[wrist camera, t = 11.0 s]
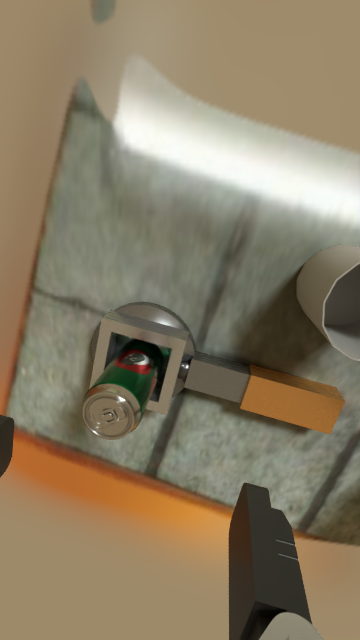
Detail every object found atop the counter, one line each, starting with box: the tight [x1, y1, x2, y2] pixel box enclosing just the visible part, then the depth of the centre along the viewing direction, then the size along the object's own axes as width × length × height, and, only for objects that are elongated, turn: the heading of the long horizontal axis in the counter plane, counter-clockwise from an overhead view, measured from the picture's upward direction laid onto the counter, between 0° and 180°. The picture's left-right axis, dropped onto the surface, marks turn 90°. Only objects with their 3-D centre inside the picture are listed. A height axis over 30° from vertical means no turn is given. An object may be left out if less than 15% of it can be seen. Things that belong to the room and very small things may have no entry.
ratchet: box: [89, 302, 345, 434], centre depth 37 cm, size 28×12×4 cm, turn 76°
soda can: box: [82, 339, 164, 440], centre depth 33 cm, size 5×5×12 cm
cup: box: [296, 244, 360, 361], centre depth 30 cm, size 8×8×10 cm
